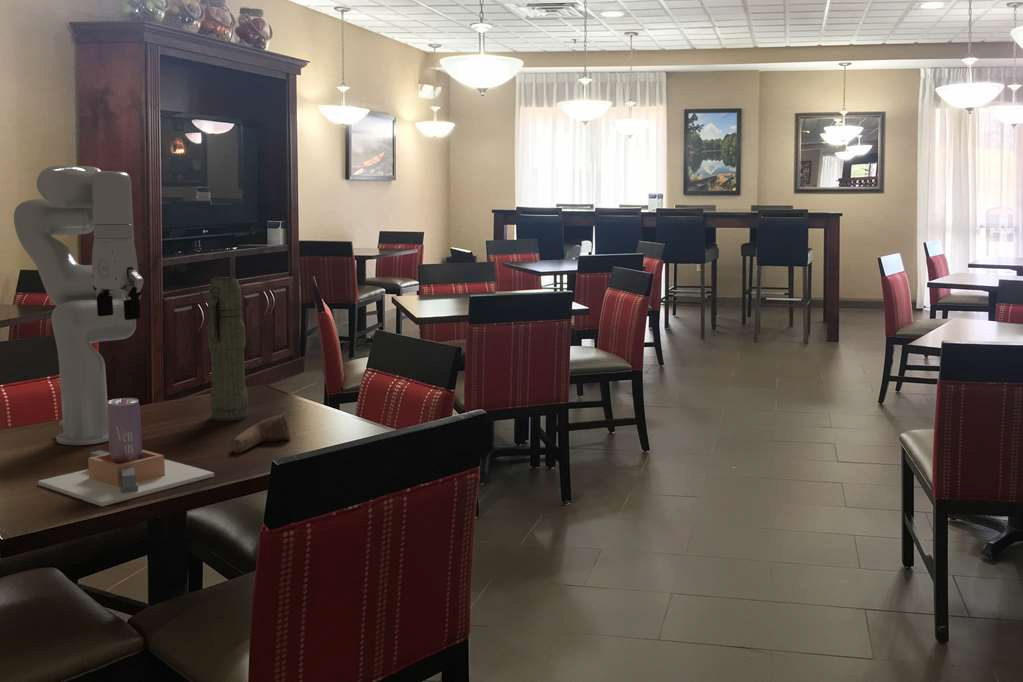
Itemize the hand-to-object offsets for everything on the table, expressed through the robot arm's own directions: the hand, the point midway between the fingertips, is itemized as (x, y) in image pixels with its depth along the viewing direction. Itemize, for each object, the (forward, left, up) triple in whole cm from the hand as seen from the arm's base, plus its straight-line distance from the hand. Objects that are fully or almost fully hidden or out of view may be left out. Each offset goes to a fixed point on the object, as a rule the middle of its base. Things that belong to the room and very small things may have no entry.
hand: (118, 317), depth 204 cm
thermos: (-17, +39, -31) cm, 52 cm away
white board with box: (+13, -8, -30) cm, 34 cm away
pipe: (+11, +26, -31) cm, 42 cm away
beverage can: (+13, -8, -30) cm, 33 cm away
